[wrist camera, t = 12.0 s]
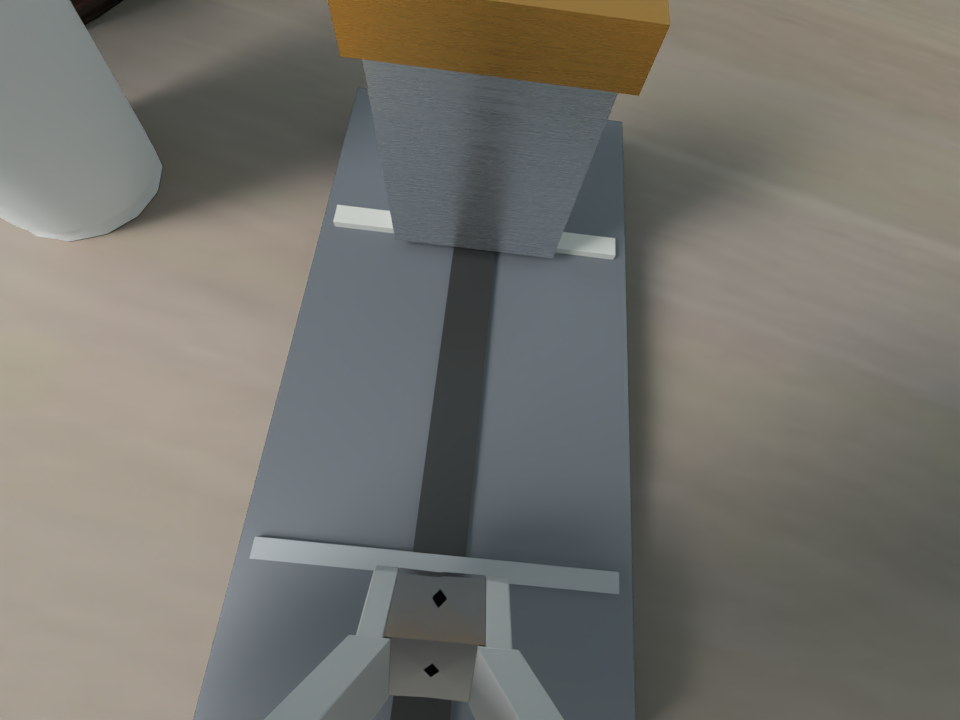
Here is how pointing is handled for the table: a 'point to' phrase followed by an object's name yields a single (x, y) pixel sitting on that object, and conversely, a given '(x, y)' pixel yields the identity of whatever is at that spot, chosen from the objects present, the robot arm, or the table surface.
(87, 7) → the manual coffee grinder
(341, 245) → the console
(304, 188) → the table surface
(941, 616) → the table surface
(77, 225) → the foam cup
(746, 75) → the table surface
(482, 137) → the plate
